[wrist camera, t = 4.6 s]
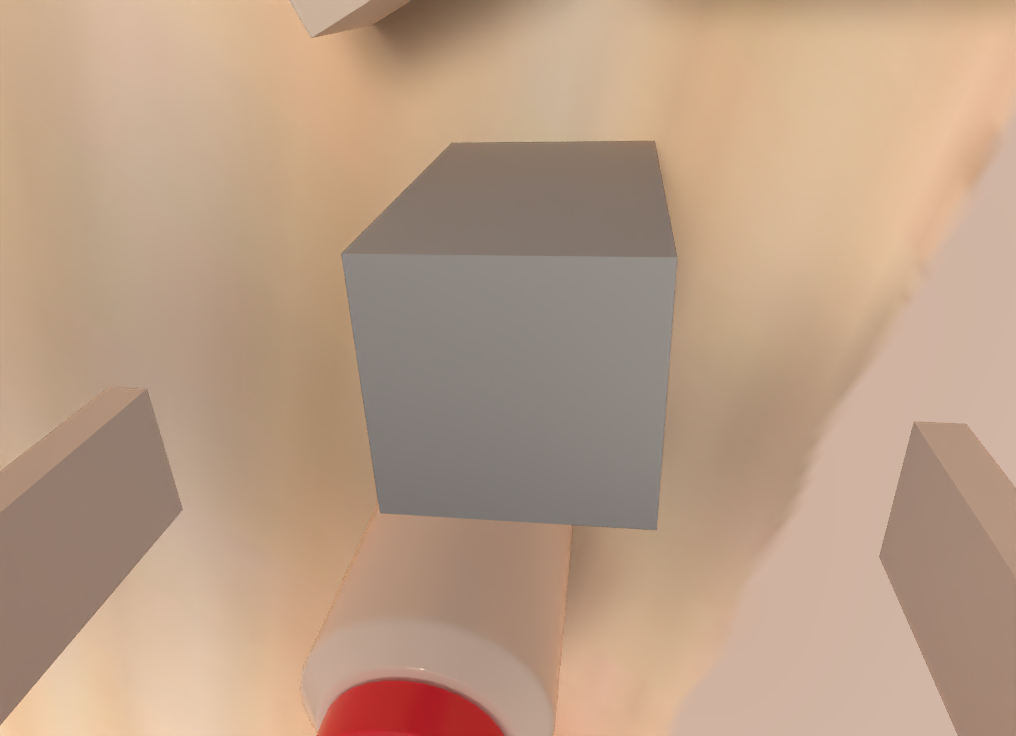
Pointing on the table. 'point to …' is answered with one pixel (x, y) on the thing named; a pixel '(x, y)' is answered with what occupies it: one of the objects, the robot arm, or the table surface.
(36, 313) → the table surface
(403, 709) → the pill bottle
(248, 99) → the table surface
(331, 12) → the grey block
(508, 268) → the slate block
